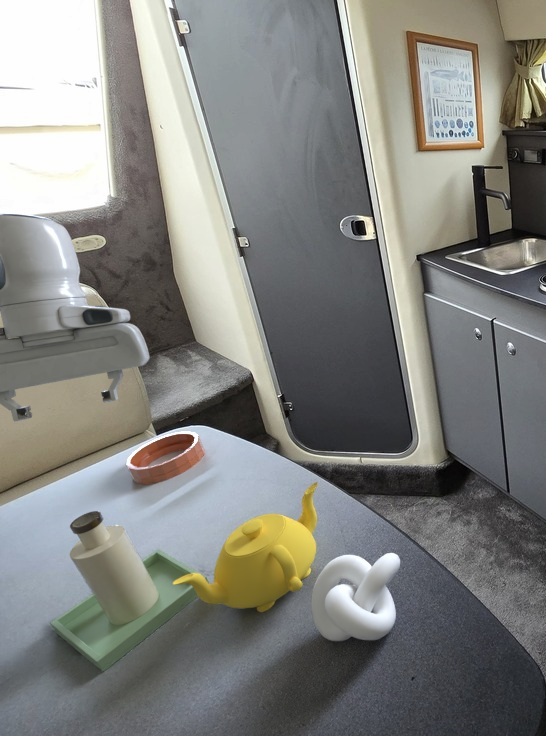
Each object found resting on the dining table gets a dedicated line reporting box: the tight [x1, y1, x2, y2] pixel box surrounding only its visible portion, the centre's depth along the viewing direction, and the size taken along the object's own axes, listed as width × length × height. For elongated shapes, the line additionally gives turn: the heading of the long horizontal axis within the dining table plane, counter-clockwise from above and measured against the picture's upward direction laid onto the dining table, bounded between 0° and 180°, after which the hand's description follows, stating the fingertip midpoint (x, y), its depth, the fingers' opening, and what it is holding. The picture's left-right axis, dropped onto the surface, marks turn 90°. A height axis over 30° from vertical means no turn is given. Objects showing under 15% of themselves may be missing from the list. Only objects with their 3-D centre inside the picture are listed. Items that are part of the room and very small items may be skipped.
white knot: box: [310, 552, 401, 642], centre depth 68 cm, size 11×12×9 cm
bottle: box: [69, 510, 159, 625], centre depth 70 cm, size 6×6×17 cm
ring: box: [125, 431, 205, 485], centre depth 100 cm, size 11×12×5 cm
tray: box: [49, 548, 210, 673], centre depth 73 cm, size 13×13×2 cm
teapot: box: [173, 481, 319, 613], centre depth 74 cm, size 20×15×12 cm
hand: (68, 410), depth 75 cm, fingers open, 8 cm apart
